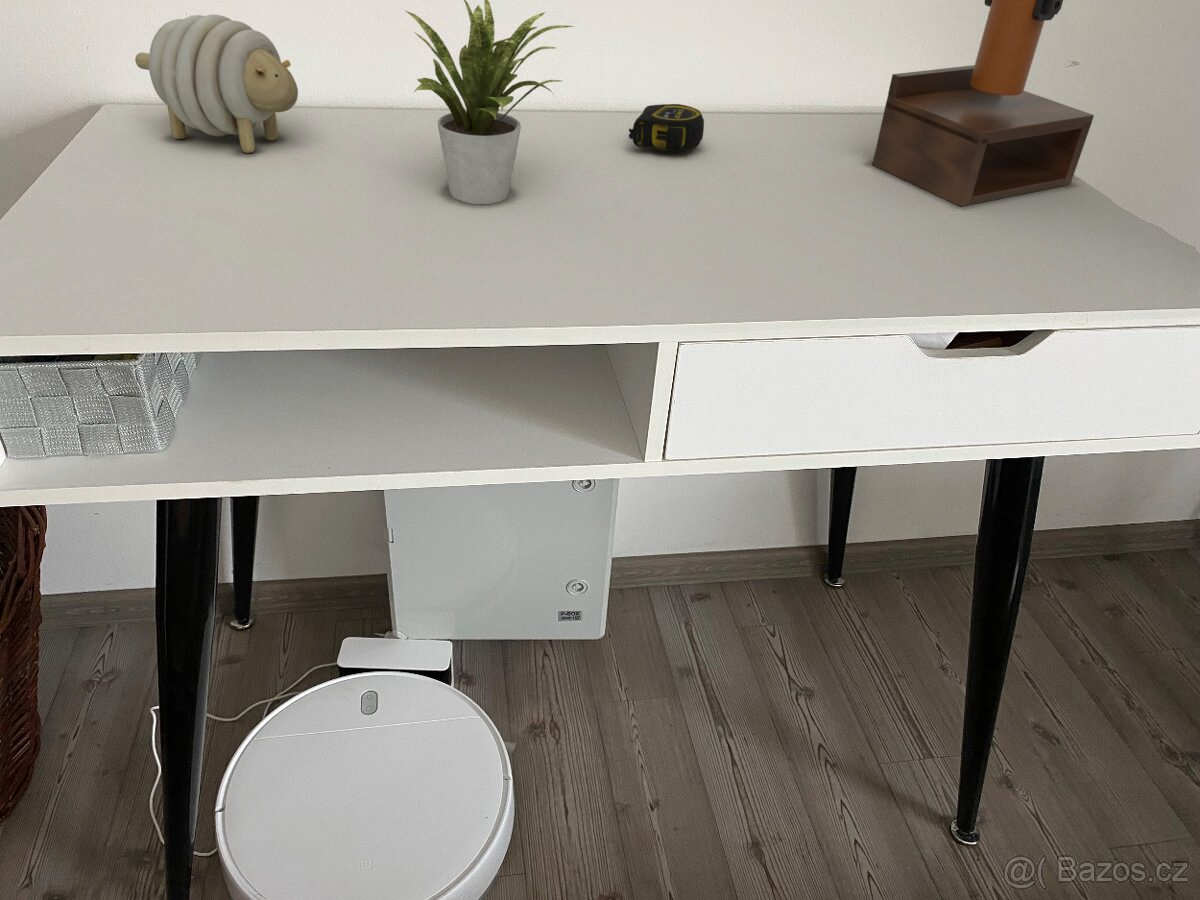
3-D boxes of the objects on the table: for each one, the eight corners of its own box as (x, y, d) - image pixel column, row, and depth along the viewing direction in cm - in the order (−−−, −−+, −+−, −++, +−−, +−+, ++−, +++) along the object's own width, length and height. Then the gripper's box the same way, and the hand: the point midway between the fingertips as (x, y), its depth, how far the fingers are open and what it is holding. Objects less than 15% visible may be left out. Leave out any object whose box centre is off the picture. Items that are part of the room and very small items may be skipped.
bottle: (1034, 92, 97) (1074, -38, 91) (998, 97, 95) (1037, -36, 88) (993, 78, 101) (1029, -49, 94) (958, 83, 98) (992, -47, 92)
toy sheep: (274, 168, 91) (258, 39, 85) (109, 141, 94) (82, 14, 88) (329, 134, 100) (319, 15, 93) (176, 110, 103) (156, -8, 96)
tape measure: (643, 133, 107) (646, 97, 105) (707, 143, 105) (711, 106, 103) (626, 152, 101) (629, 115, 99) (693, 163, 100) (698, 125, 98)
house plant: (600, 215, 87) (614, 14, 78) (452, 240, 81) (448, 24, 72) (523, 161, 97) (528, -23, 88) (386, 179, 91) (376, -17, 82)
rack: (1070, 184, 102) (1101, 94, 97) (960, 206, 95) (988, 110, 90) (979, 147, 111) (1003, 61, 105) (871, 164, 103) (892, 74, 98)
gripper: (1184, -196, 81) (1108, 28, 91) (1039, -210, 91) (985, -6, 101) (1126, -200, 78) (1054, 34, 87) (982, -214, 87) (931, -2, 97)
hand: (1017, 11), depth 94 cm, fingers closed on bottle, 5 cm apart
